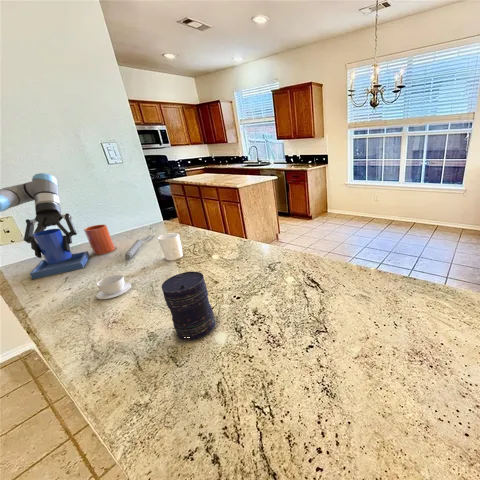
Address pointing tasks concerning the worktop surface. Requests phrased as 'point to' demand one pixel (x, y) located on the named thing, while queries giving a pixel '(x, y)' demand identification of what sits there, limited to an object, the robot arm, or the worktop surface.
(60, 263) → the blue tray
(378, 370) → the worktop surface
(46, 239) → the blue cup
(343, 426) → the worktop surface
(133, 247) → the kitchen whisk
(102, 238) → the red cup
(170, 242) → the white cup
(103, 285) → the teacup
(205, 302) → the storage jar
